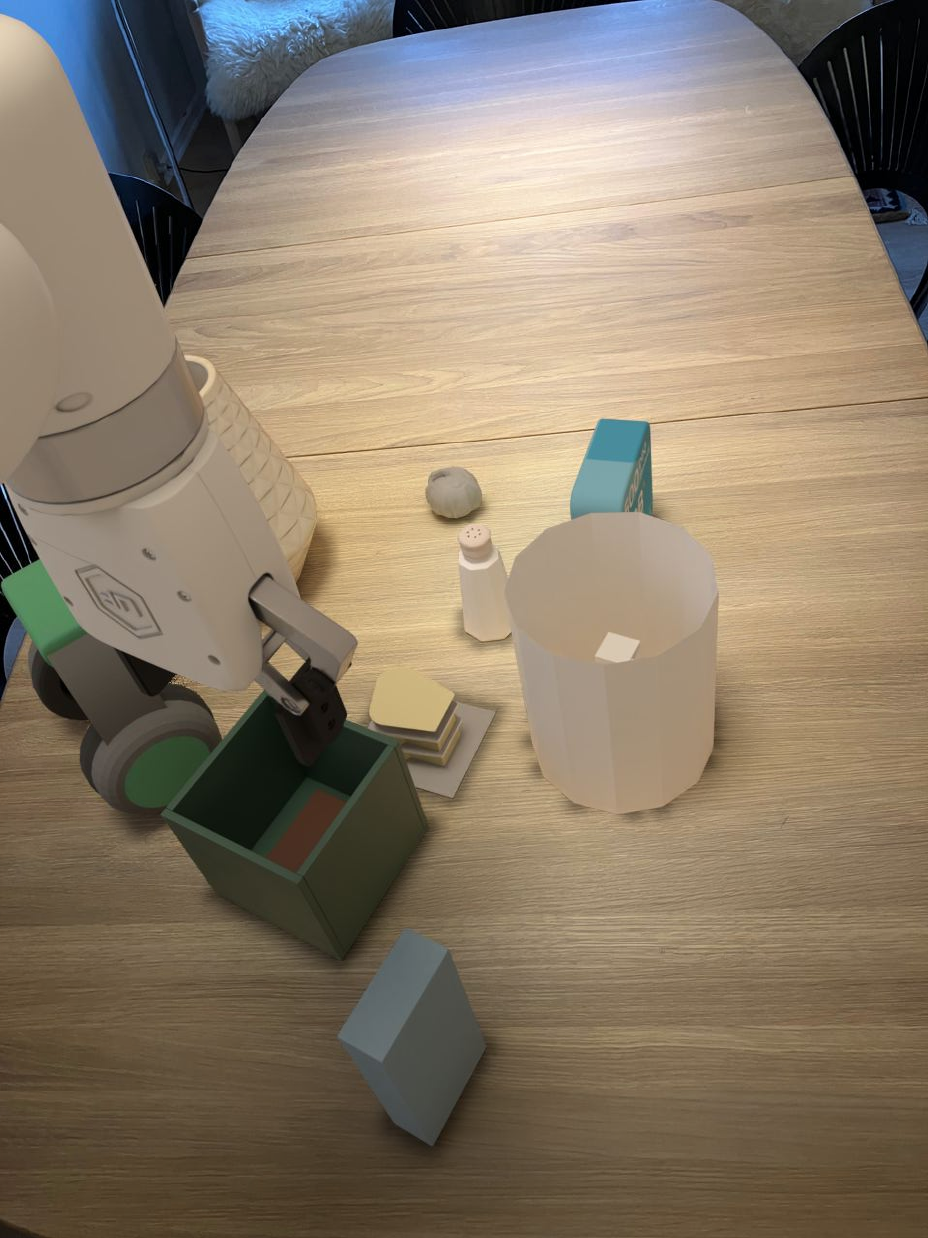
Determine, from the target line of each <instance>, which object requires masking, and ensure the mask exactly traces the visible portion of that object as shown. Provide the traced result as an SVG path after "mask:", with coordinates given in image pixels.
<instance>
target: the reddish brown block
mask: <svg viewBox="0 0 928 1238" xmlns="http://www.w3.org/2000/svg"><path fill="white" fill-rule="evenodd" d="M346 803H347V802H345V801H343V800H341V799H338V798H336V797H334V796H332V795H329V794H327V793H325V792H323V791H321V790H318V789H317V790H316V791H315V793H314V794H313V795H312V797H311V798H310V800H309V801H308V802H307V804H306V805H305V806H304V808H303V809H302V810H301V812H300V813H299V814H298V816H297V817H296V818H295V820H294V821H293V822H292V824H291V825H290V827H289V828H288V829H287V831H286V832H285V833H284V835H283V836H282V837H281V839H280V840H279V841H278V843H277V844H276V845H275V847H274V848H273V849H272V851H271V852H270V854H269V855H268V856H267V858H266V859H268V860H270V861H272V862H274V863H276V864H278V865H280V866H282V867H284V868H286V869H288V870H290V871H292V872H294V873H296V874H297V871H298V870H299V868H300V867H301V866H302V864H303V863H304V861H305V860H306V859H307V857H308V856H309V854H310V853H311V852H312V850H313V849H314V847H315V846H316V845H317V843H318V842H319V840H320V839H321V838H322V836H323V835H324V833H325V832H326V831H327V829H328V828H329V827H330V825H331V824H332V822H333V821H334V820H335V818H336V817H337V815H338V814H339V813H340V811H341V810H342V808H343V807H344V806H345V804H346Z"/></svg>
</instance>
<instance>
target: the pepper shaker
mask: <svg viewBox="0 0 928 1238" xmlns="http://www.w3.org/2000/svg"><path fill="white" fill-rule="evenodd" d="M457 541H458V543H459V545H460V551H458V571H459V572H458V573H459V583H460V594H461V604H462V615H463V616H462V617H463V628H464V632H465V633H467V634H468V635H470V636H471V637H473V638H475V639H476V640H478V641H480V642H483V643H485V642H492V641H498V640H499V641H501V640H505V639H507V637H508V636H509V635H510V634H512V632H511V627H510V622H509V616H508V611H507V606H506V600H505V595H504V591H505V588H506V585H507V581H508V578H509V575H508V573H507V570H506V566H505V564H504V560H503V557H502V555H501V552H500V549H499V547H498V546H496V545H494V544H493V541H492V532H491V529H490V527H488V526H487V525H485V524H483V523H482V524H481V523H471V524H467V525H466V526H463V528H461V530H460V531H459V532H458V534H457Z"/></svg>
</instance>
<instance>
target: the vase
mask: <svg viewBox="0 0 928 1238" xmlns="http://www.w3.org/2000/svg"><path fill="white" fill-rule="evenodd" d="M183 355H184V357H185V360H186V362H187V365H188V367H189V369H190V372H191V374H192V377H193V379H194V381H195V384H196V386H197V389H198V391H199V393H200V396H201V399H202V401H203V403H204V406H205V408H206V410H207V413H208V419H209V426H208V428H209V429H210V430H212V431H213V432H215V433H216V434H217V435H218V436H219V438H220V440H221V441H222V443H223V444H224V446H225V448H226V449H227V451H228V452H229V454H230V455H231V457H232V458H233V460H234V461H235V463H236V465H237V466H238V468H239V470H240V471H241V473H242V475H243V476H244V478H245V480H246V481H247V483H248V485H249V487H250V489H251V490H252V492H253V494H254V496H255V498H256V499H257V501H258V503H259V505H260V507H261V509H262V511H263V513H264V515H265V517H266V519H267V521H268V523H269V524H270V526H271V528H272V530H273V532H274V534H275V536H276V539H277V541H278V543H279V545H280V547H281V549H282V551H283V553H284V556H285V558H286V560H287V563H288V565H289V567H290V570H291V572H292V575H293V577H294V580H295V583H296V584H297V582H298V580H299V578H300V577H301V574H302V571H303V568H304V564H305V561H306V558H307V554H308V552H309V549H310V545H311V541H312V538H313V535H314V532H315V529H316V525H317V520H318V504H317V500H316V497H315V494H314V492H313V490H312V488H311V487H310V485H309V484H308V483H307V482H306V480H305V479H304V478H303V476H301V474H300V473H299V471H298V470H297V468H296V467H295V466H294V465H293V464H292V463H291V462H290V460H289V459H288V457H287V456H286V455H285V453H283V452H282V449H280V447H279V446H278V445H277V444H276V442H275V441H274V440H273V438H272V437H271V436H270V435H269V434H268V432H267V431H266V429H264V427H263V426H262V424H261V423H260V422H259V420H257V418H256V417H255V416H254V415H253V414H252V413H253V412H251V410H250V409H249V408H248V407H247V405H245V403H244V402H243V400H242V399H241V398H240V397H239V395H238V394H237V393H236V392H235V390H234V389H233V388H232V387H231V385H230V384H229V383H228V381H227V380H226V379H225V378H224V376H223V375H222V374H221V372H220V371H219V370H218V369H217V368H216V366H215V365H214V363H213V362H211V361H210V360H209V359H207V358H205V357H203V356H199V355H193V354H183Z"/></svg>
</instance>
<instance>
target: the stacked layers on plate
mask: <svg viewBox="0 0 928 1238" xmlns="http://www.w3.org/2000/svg"><path fill="white" fill-rule="evenodd" d="M373 689H374V690H373V693H372V697H371V701H370V705H369V708H368V709H369V710H368V714H369V718H370V719H371V721H370V723H369V724H368V726H367V728H368V729H370V730H373V731H375V732H378V733H380V734H383V735H385V736H388V737H390V738H393V739H395V740H397V741H399V742H400V745H401V748H402V751H403V754H404V757H405V760H406V762H407V765H408V768H409V771H410V774H411V777H412V780H413V783H414V785H415V788H417V789H420V790H424V791H428V792H431V793H434V794H437V795H440V796H444V797H447V798H450V799H454V797H455V795H456V793H457V791H458V789H459V787H460V785H461V783H462V781H463V779H464V777H465V775H466V773H467V771H468V769H469V767H470V765H471V763H472V762H473V761H472V760H473V759H474V757H475V755H476V753H477V751H478V749H479V747H480V745H481V743H482V741H483V739H484V737H485V735H486V733H487V730H488V729H489V727H490V725H491V723H492V721H493V719H494V717H495V715H496V713H497V711H494V710H490V709H487V708H483V707H479V706H474V705H471V704H468V703H464V702H459V701H455V700H453V699H454V697H455V695H456V693H455V692H454V691H452V690H450V689H449V688H447V687H445V686H443V685H442V684H440V683H438V682H436V681H434V680H433V679H431V678H429V676H428V677H427V676H426V675H425V674H423V673H421V672H419V671H417V670H416V669H414V668H412V667H407V666H403V665H396V666H394V667H392V668H390V669H387V670H386V671H383V672H381V673H380V674H379V675H378V677H377V678H376V681H375V686H374V688H373Z"/></svg>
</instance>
